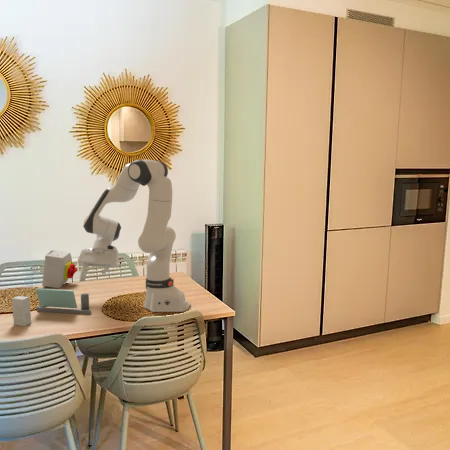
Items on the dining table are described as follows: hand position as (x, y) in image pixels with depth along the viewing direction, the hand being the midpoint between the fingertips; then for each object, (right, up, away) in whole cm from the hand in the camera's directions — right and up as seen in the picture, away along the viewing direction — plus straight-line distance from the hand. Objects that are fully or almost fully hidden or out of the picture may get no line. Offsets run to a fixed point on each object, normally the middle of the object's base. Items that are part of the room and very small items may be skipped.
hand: (94, 272), depth 232 cm
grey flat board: (-10, -16, -9) cm, 21 cm away
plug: (-2, -17, -10) cm, 19 cm away
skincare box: (-23, -20, -29) cm, 42 cm away
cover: (-13, -10, -15) cm, 22 cm away
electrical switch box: (-27, -10, +31) cm, 42 cm away
